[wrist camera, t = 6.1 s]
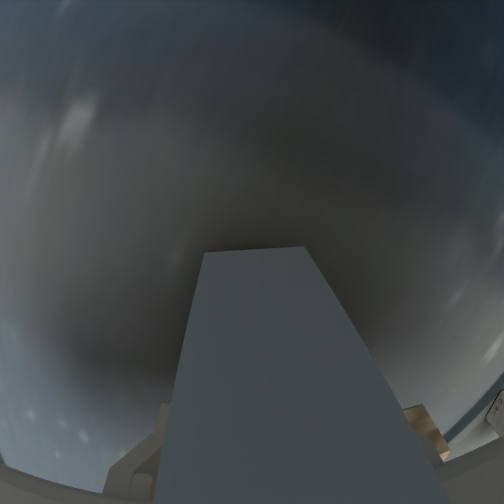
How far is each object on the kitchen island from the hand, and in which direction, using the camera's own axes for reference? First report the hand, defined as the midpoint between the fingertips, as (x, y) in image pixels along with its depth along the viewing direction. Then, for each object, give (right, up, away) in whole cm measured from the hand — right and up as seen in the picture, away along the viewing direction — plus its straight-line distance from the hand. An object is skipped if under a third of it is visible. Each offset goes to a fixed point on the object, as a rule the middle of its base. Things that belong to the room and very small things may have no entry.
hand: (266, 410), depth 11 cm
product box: (0, +2, +5) cm, 5 cm away
